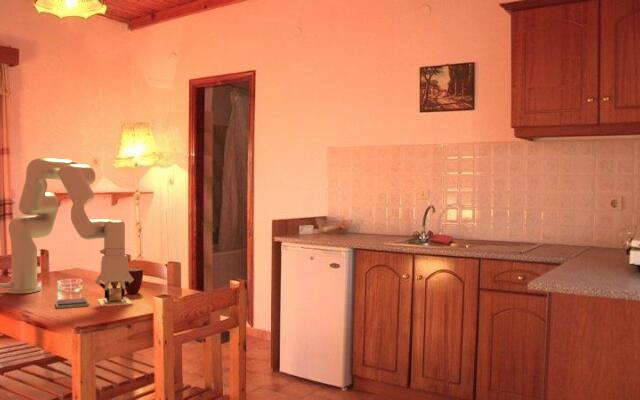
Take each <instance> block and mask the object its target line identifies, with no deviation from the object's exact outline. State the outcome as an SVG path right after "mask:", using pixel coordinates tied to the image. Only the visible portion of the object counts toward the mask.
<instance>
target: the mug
mask: <svg viewBox="0 0 640 400" xmlns="http://www.w3.org/2000/svg"><path fill="white" fill-rule="evenodd" d="M129 273H130V275H131V276H132V277H133V279H134V281H132V282H131V283H129V285H128V286H127V287H126V288H125V291H126V293H127V294H128V295H136V294H138V293H139V291H140V290H141V287H142V281H143V277H144V271H143V268H139V267H138V268H137V267H134V268H132V267H131V268H130V267H129ZM127 281H128V280H127ZM125 282H126V281H124V283H125Z"/></svg>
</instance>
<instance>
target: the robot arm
mask: <svg viewBox="0 0 640 400" xmlns="http://www.w3.org/2000/svg"><path fill="white" fill-rule="evenodd" d="M48 180H57V181H58V180H60V181H61V183H62V185H63V187H64V189H65V190H66V192H67V194H68V196H69V198H70V200H71V202H72V205H71V210H70V220H71V223H72V225H73V226H74V229H75V231H76V232H77V234H78V235H79V236H80V237H81V238H82V239H84V240H96V239H103V240H104V241H103V242H104V243H103V247H104V248H103V249H100V250H99V253H100V254H103V255H102V256H101V262H100V273H99V275H98V277H97V278H96V279H95V280H94V282H95V284H97V285H98V286H100V287H101V288H102V289H104V299H105V298H106V300H107V301H108V300H109V290H108V287H110V284H111V282H118V283H120V287H121V288H122V291H121V299H123V297H126V296H125V291H126V290H125V288H126V287H127V286H128V285H129V283H131V282H132V281H134V279H133V277H132V276H131V275H130V273H129V269H130V267H129V260H128V259H129V258H128V255H126V234H125V233H126V224H125V222H124V221H123V220H120V219H117V220H116V219H109V218H99V219H98V218H95V219H94V218H93V219H89V217H88V216H87V213H86V211H85V206H86V205H87V204H89V203H90V202H92V200H93V199H94V197H95V194H94V191H93V189H92V188H91V185H92V184H93V183H94V182H95V180H96V172H95V171H94V169H93V168H92V167H91V165H88V164H84V163H81V162H78V161H74V160H71V159H65V158H64V159H63V158H47V157H45V158H44V157H40V158H34V159H32V160H31V161H29V163H28V165H27V166H26V170H25V181H24V185H23V188H22V192H21V196H20V199H19V204H18V210H19V212H20V213H21V214H22V215H26V216H17V217H14V218H12V219H11V221H10V222H9V224H8V234H9V237H10V238H9V239H10V247H11V248H10V249H11V250H10V251H11V254H10V255H11V280H10V281H8V282H5V283H3V282H2V283H1V282H0V289H6V288H7V293H8V294H14V295H20V294H21V295H22V294H32V293H37V292H41V291H42V287H41V286H40V285H39V286H38V249H37V248H38V247H37V246H36V243H35V242H34V240H33V239H39V238H40V239H41V238H45V237H48V236H49V235H50V234H51V233H52V231H53V228H54V225H55V221H56V218H57V214H58V211H59V207H60V206H59V203H60V202H59V200H58V197H57V195H56V194H54V193H53V192H48V190H47V189H48V182H47V181H48ZM127 280H128V281H127ZM124 281H126V282H125V283H124Z"/></svg>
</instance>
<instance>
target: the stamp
mask: <svg viewBox="0 0 640 400" xmlns="http://www.w3.org/2000/svg"><path fill="white" fill-rule="evenodd" d="M110 285H111V286H108V290H109V300H108V302H109V303H112V302H121V291H122V288H121V285H120V286H118V285H119V282H111V283H110Z"/></svg>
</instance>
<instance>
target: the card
mask: <svg viewBox="0 0 640 400" xmlns="http://www.w3.org/2000/svg"><path fill="white" fill-rule="evenodd" d="M97 302H98V304H99V306H101V307H103V306H106V307H117V306H127V305H133V302H132V301H131V300H130V299H129V298H128V297H127V296H124V297H123V299H121V302H112V303H109V302H108V301H107V300H106V298H105V297H104V298H97ZM116 305H117V306H116ZM103 308H104V307H103Z"/></svg>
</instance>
